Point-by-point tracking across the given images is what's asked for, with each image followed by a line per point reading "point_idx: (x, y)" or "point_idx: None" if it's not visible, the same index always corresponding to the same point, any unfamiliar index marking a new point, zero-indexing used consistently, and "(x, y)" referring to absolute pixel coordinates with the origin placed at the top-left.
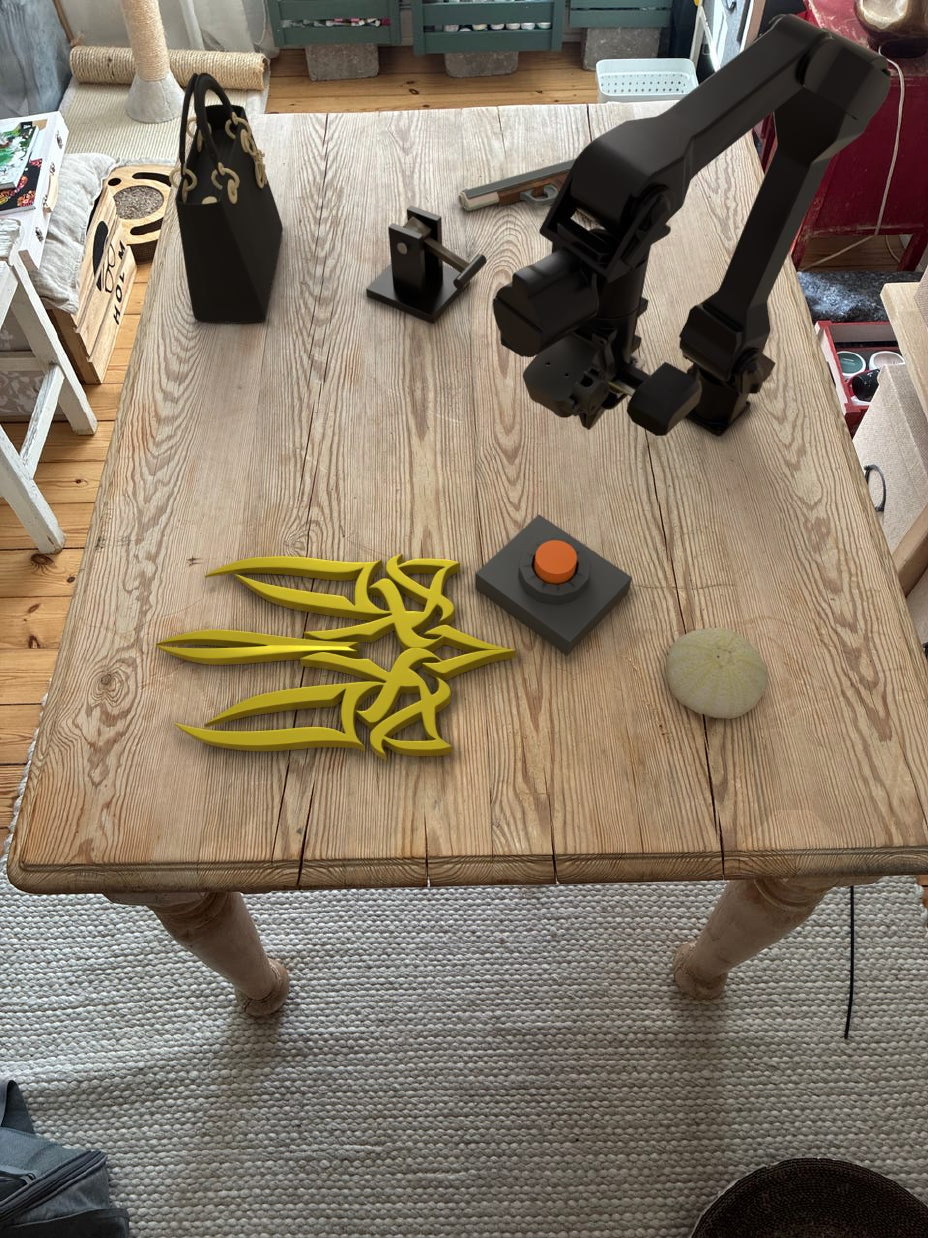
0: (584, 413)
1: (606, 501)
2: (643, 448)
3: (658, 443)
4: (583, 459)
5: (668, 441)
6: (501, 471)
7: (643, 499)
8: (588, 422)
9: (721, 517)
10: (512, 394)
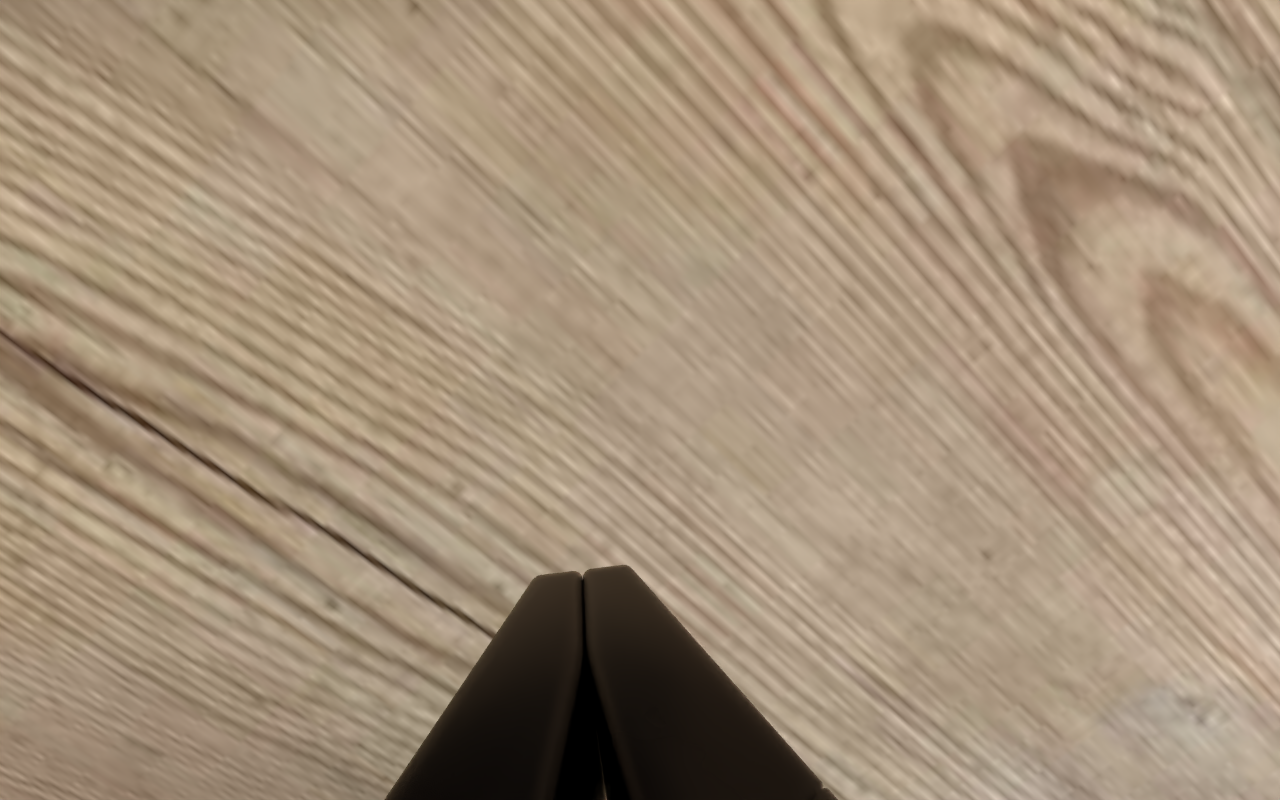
0: (607, 723)
1: (458, 335)
2: None
3: None
4: (737, 439)
5: None
6: (1032, 59)
7: (345, 473)
8: (527, 649)
9: (32, 643)
10: (1271, 473)
